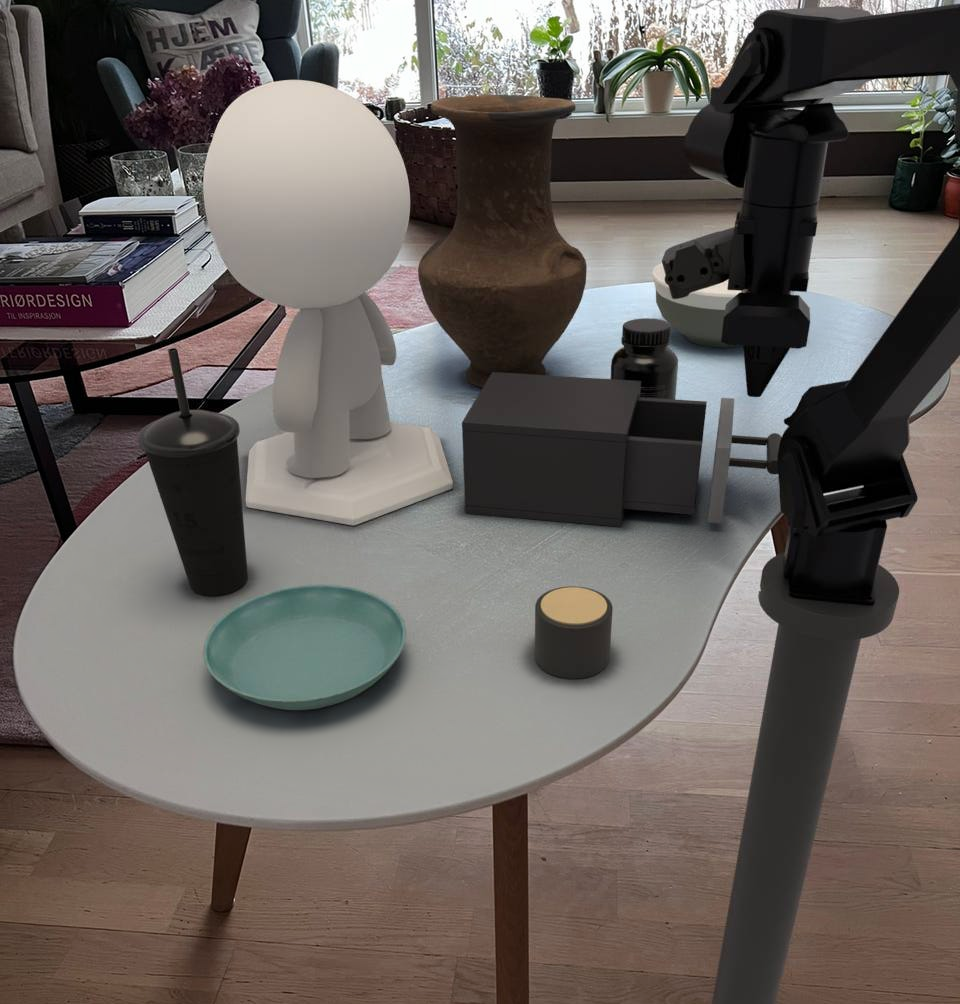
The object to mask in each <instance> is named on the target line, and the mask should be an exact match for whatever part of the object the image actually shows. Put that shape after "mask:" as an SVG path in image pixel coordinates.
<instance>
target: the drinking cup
mask: <svg viewBox="0 0 960 1004" xmlns="http://www.w3.org/2000/svg"><path fill="white" fill-rule="evenodd" d="M167 352H168V357H169V362H170V367H171V373H172V377H173V382H174V387H175V388H174V389H175V393H176V397H177V402H178V408H179V411H175V412H171V413H168V414H167V415H164V416H162V417H160V418H158V419H155V420H154V421H152V422H150V423H149V424H146V425H145V426H144V427H143V428H142V429H140V431H139V433H138V436H137V441H138V445H139V447H140V449H142V450H143V451H144V452H145V455H146V459H147V461H148V464H149V467H150V470H151V473H152V476H153V479H154V482H155V485H156V488H157V492H158V494H159V497H160V500H161V503H162V506H163V509H164V512H165V514H166V517H167V518H166V519H167V521H168V524H169V527H170V530H171V533H172V536H173V539H174V542H175V545H176V548H177V551H178V554H179V557H180V560H181V563H182V566H183V568H184V572H185V575H186V578H187V581H188V585H189V587H190V589H191V590H192V591H193V592H194V593H196V594H198V595H201V596H206V597H218V596H224V595H228V594H230V593H234V592H236V591H238V590H239V589H241V588H243V587H244V586H245V585H246V583H247V582H248V578H249V574H248V563H247V550H246V538H245V524H244V510H243V498H242V497H243V496H242V486H241V485H242V484H241V483H242V482H241V473H240V471H241V470H240V459H239V447H238V446H239V445H238V438H239V436H240V430H241V429H240V425H239V422H238V421H237V420H236V419H235V418H234V417H233V416H231V415H228V414H225V413H221V412H214V411H210V410H205V409H190V407H189V401H188V396H187V391H186V386H185V381H184V375H183V371H182V366H181V362H180V361H181V360H180V355H179V350H178V348H177V347H172V348H168V350H167Z"/></svg>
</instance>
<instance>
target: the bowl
mask: <svg viewBox="0 0 960 1004" xmlns="http://www.w3.org/2000/svg"><path fill="white" fill-rule="evenodd" d="M651 277H652V279H653V283H654V287H655V304H656V305H657V307H658V310H659V312H660V314H661V316H662V318H663V320H664V321H666V322H667V323H669V324H670V326H671V328H673V329H674V330H676V331H677V332H679V333H680V334H682V335H683V336H685V337H686V339H687V340H688V341H689V342H691V343H694V344H695V345H699V346H704V347H710V348H734V347H741V345H728V344H726V343H723V342H721V337H722V328H723V319H724V313H725V307H726V304H727V303H728V302H729V301H730V300H731V299H733V298H734V297H735V296H736V295H737V294H738V293H741V291H739V290H727V288H728V280H726V281H725V282H722V283H720V284H717V285H714V286H710V287H707V288H704V289H701V290H697V291H694V292H691V293H690V294H689V295H688V296H687V297H683V298H679V299H673V298H672V297H671V293H670V289H669V286H668V285H667V284H666V283H665V271H664V268H663V264H662V262H660V263H658V264H657V265H656V266H655V267H654V268H653V269H652V270H651ZM795 292H796V291H791V295H795Z"/></svg>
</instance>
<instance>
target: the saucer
mask: <svg viewBox="0 0 960 1004" xmlns="http://www.w3.org/2000/svg"><path fill="white" fill-rule="evenodd" d="M406 640H407V628H406V624H405V620H404V619H403V617H402V616H401V613H399V611H398V610H397V609H396V608H395V607H394V606H393V604H391V603H390V602H388V601H387V600H386V599H385V598H382V597H380V596H378V595H376V594H374V593H372V592H369V591H366V590H363V589H359V588H356V587H351V586H345V585H344V586H343V585H339V584H306V585H297V586H296V585H295V586H290V587H285V588H281V589H276V590H273V591H272V590H271V591H270V592H267V593H263V594H261V595H258V596H255V597H252V598H251V599H248V600H246V601H244V602H243V603H241V604H240V603H239V604H238V605H237V606H235V607H233V608H232V609H230V610H229V611H228V612H227V613H225V614H224V615H223V616H222V617H220V619H219V620H217V622H216V623H215V624H214V625H213V626H212V627H211V629H210V630H209V632H208V634H207V635H206V638H205V640H204V643H203V649H202V654H203V655H202V656H203V661H204V664H205V666H206V669H207V671H208V672H209V673H210V675H211V676H212V678H214V680H215V681H217V682H218V683H219V684H220V685H222V686H223V687H225V688H226V689H227V690H228V691H230V692H232V693H234V694H235V695H237V696H238V697H241V698H243V699H245V700H247V701H249V702H252V703H255V704H258V705H262V706H265V707H269V708H273V709H278V710H285V711H308V710H309V711H310V710H317V709H323V708H326V707H330V706H334V705H336V704H340V703H343V702H346V701H348V700H350V699H352V698H354V697H356V696H357V695H359V694H361V693H362V692H364V691H365V690H367V689H368V688H370V687H372V686H373V685H374V684H376V683H377V682H378V681H379V680H380V679H381V678H382V677H384V675H386V673H387V672H389V670H390V669H391V668H392V667H393V666H394V664H395V663H396V661H397V660H398V658H399V657H400V655H401V653H402V651H403V649H404V647H405V644H406Z"/></svg>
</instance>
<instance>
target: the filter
mask: <svg viewBox="0 0 960 1004" xmlns="http://www.w3.org/2000/svg"><path fill="white" fill-rule="evenodd" d="M613 610H614V609H613V605H612V602H611V600H610V599H609V598H608V597H607V596H606V595H605V594H603V593H602V592H600V591H598V590H595V589H593V588H589V587H584V586H573V585H571V586H562V587H556V588H553V589H549V590H548V591H546V592H544V593H542V594H541V595H540V596H539V597H538V598H537V599H536V602H535V605H534V660H535V662H536V664H537V666H538V667H539V668H540V670H542V671H544V672H545V673H547V674H549V675H551V676H554V677H557V678H560V679H568V680H579V679H587V678H590V677H593V676H596V675H598V674H600V673H601V672H602V671H604V670H605V669H606V668H607V667H608V665H609V662H610V658H611V657H610V656H611V644H612V643H611V639H612V626H613Z"/></svg>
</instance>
